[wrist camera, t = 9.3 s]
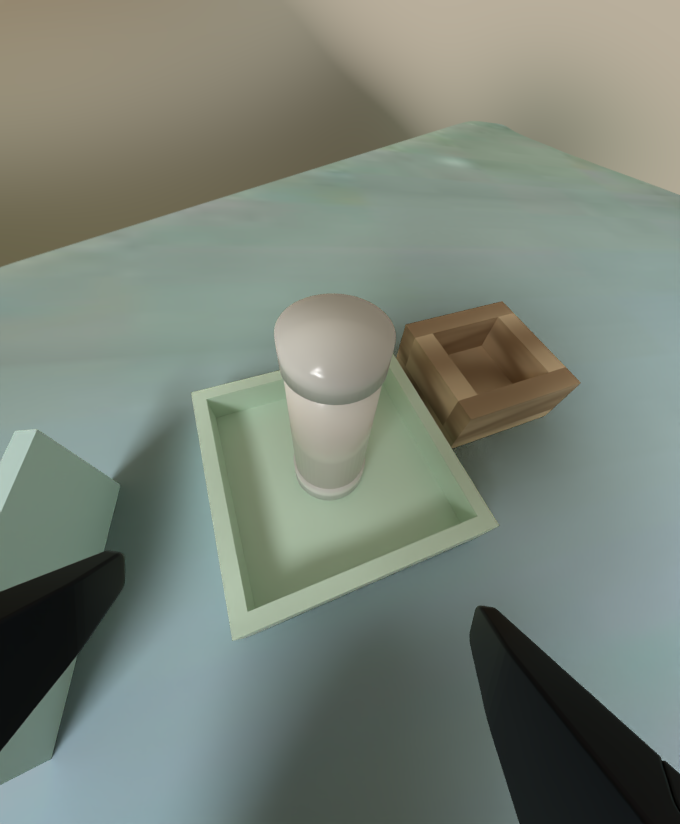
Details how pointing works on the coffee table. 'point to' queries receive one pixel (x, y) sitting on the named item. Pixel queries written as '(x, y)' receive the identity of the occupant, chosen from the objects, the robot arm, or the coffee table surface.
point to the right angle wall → (47, 554)
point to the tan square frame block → (481, 372)
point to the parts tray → (325, 501)
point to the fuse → (332, 386)
